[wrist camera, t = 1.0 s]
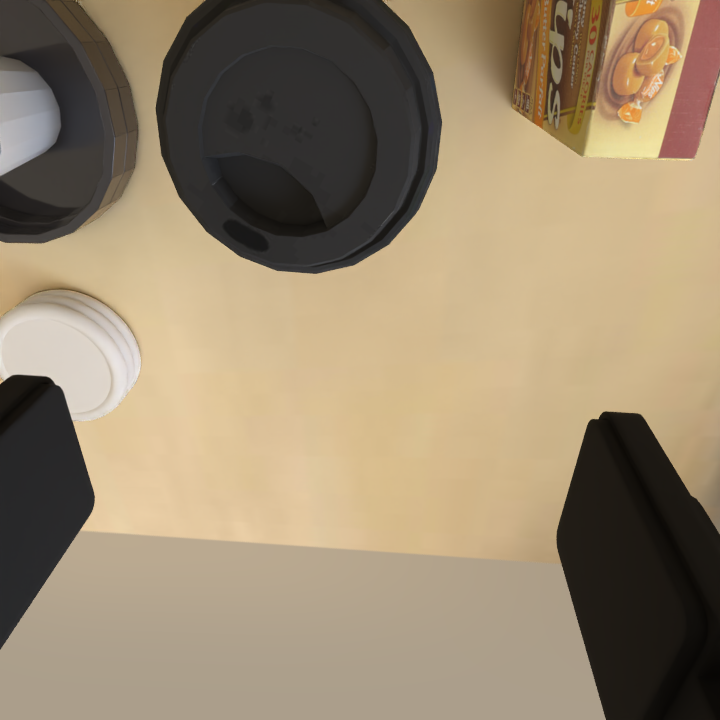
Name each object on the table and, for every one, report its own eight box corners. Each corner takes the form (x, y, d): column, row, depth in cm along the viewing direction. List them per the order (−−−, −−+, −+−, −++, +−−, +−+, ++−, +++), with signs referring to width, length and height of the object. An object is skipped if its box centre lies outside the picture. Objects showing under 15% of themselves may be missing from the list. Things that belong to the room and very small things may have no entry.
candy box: (531, -81, 28) (638, -182, 15) (618, -83, 28) (805, -189, 15) (509, 110, 32) (575, 162, 19) (583, 110, 32) (702, 163, 19)
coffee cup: (213, 139, 35) (95, 202, 22) (292, -59, 29) (199, -131, 16) (369, 231, 37) (347, 338, 24) (471, 63, 31) (512, 85, 19)
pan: (-162, 17, 33) (-219, 16, 30) (48, -91, 29) (6, -105, 26) (-3, 253, 40) (-37, 271, 37) (181, 188, 36) (161, 201, 33)
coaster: (168, 354, 43) (150, 378, 40) (97, 418, 47) (75, 445, 44) (60, 260, 40) (31, 278, 37) (-8, 338, 44) (-39, 360, 41)
